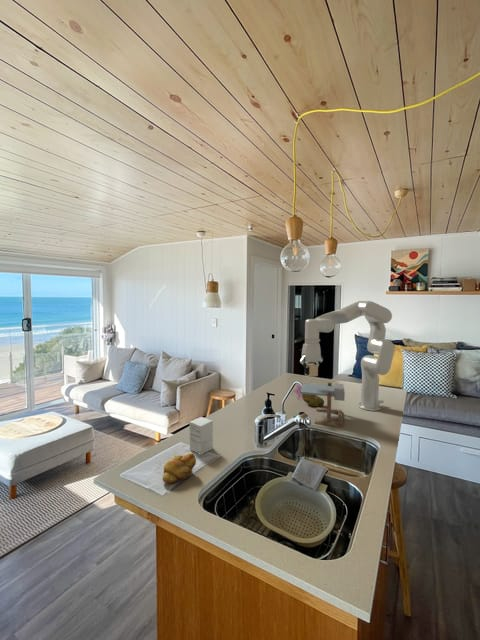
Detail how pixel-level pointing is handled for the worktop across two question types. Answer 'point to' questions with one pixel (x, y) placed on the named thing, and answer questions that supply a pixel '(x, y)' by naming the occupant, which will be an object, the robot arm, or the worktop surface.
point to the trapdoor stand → (329, 411)
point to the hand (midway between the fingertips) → (311, 373)
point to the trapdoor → (324, 390)
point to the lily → (298, 391)
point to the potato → (313, 400)
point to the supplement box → (201, 435)
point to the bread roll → (178, 468)
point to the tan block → (313, 370)
